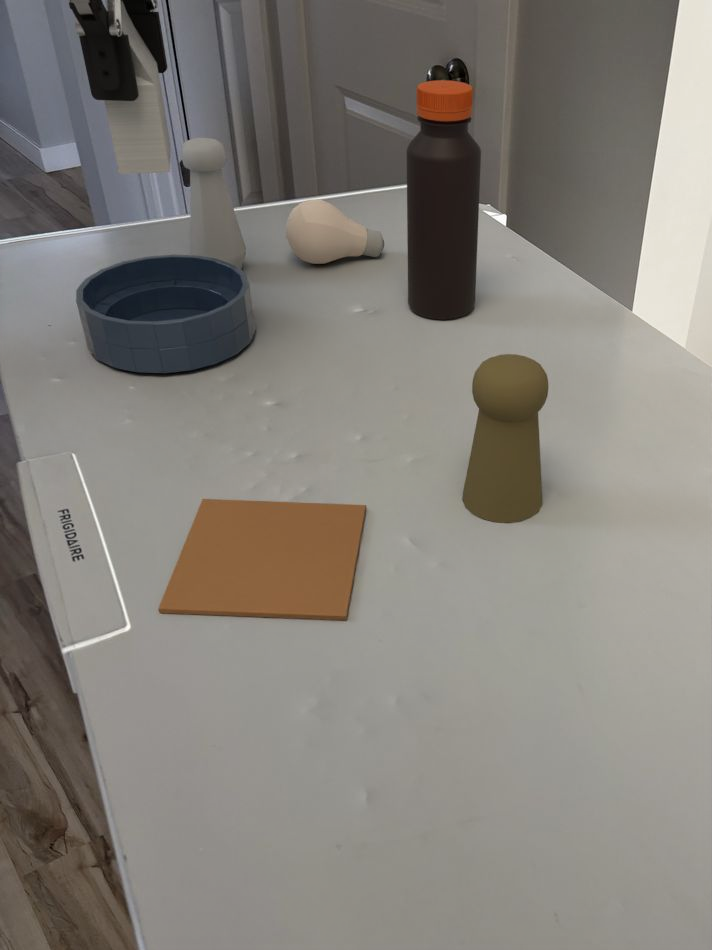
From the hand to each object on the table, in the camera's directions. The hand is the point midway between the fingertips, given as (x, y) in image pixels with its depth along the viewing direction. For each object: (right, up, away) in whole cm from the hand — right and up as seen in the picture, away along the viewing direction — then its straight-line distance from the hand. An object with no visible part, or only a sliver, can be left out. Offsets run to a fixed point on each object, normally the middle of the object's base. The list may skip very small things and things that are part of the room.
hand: (131, 83), depth 69 cm
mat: (+11, -35, -5) cm, 38 cm away
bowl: (-3, -14, +19) cm, 23 cm away
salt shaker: (-1, -3, +31) cm, 31 cm away
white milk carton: (0, -4, +4) cm, 6 cm away
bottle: (+23, -9, +25) cm, 35 cm away
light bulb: (+11, -1, +34) cm, 36 cm away
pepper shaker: (+28, -31, +1) cm, 41 cm away
